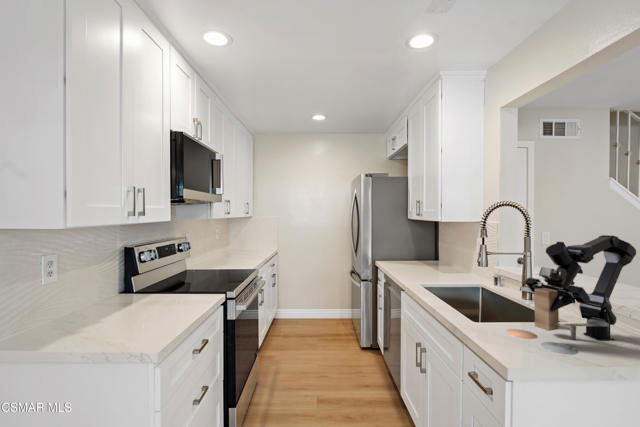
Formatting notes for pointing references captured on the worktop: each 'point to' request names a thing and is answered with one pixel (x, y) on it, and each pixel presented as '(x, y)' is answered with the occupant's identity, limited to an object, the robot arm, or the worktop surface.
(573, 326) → the balance
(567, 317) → the worktop surface
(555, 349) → the slate dish
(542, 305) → the walnut block
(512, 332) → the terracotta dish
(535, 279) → the robot arm
